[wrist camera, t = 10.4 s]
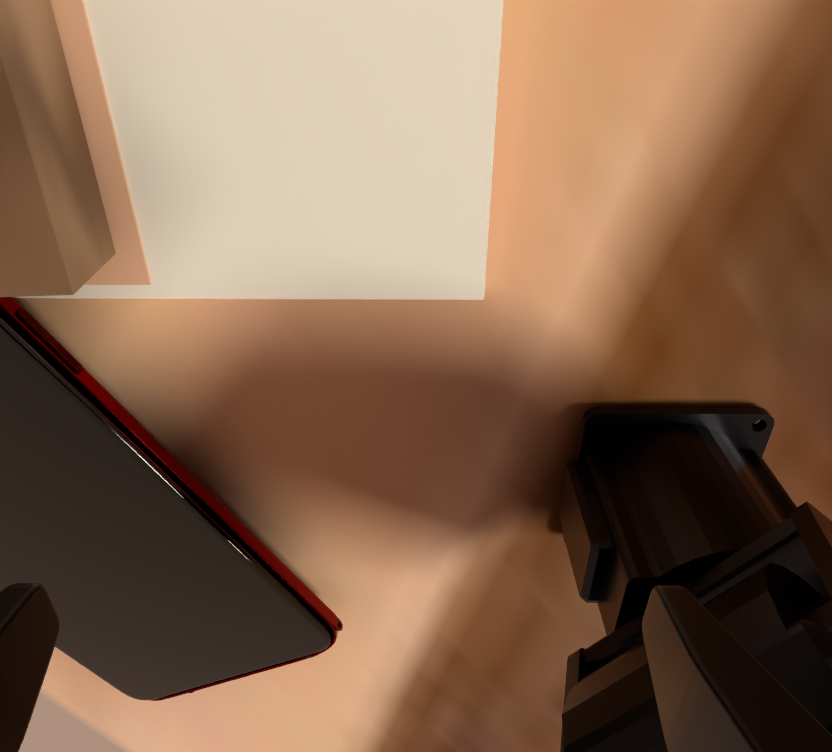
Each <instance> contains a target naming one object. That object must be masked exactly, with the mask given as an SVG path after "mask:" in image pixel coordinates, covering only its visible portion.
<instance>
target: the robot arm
mask: <svg viewBox="0 0 832 752" xmlns="http://www.w3.org/2000/svg"><path fill="white" fill-rule="evenodd" d="M599 419H601V420H603V421H602V422H601V423H599V424H593V422H594V421H596V420H599ZM758 420H760V422H758V423H757V424H754V425H753V423H754V422H756V421H758ZM773 426H774V420H773V417H772V416H771V415H770V414H769V412H768V411H767V410H765V409H764V408H760V407H594V408H591V409H589V410H588V411H587V412H586V413H585V414H584V415H583V418H582V422H581V428H580V434H579V439H578V445H577V451H576V456H575V459H572V460H571V461H570V462H569V463H568V464H567V465H566V469H565V475H564V481H563V487H562V493H561V499H560V505H559V511H558V514H559V518H560V522H561V526H562V531H563V537H564V541H565V543H566V545H567V549H568V553H569V557H570V561H571V565H572V569H573V573H574V576H575V580H576V584H577V588H578V592H579V595H580V597H581V598H582V599H583V600H584V601H585V602H587V603H598V606H599V610H600V613H601V617H602V620H603V624H604V627H605V631H606V634H607V636H605V637H604V638H602V639H601V640H599V641H597V642H596V643H594V644H593V645H591V646H590V647H588V648H587V649H584V648H581V649H579V650H577V651H576V652H574V653H573V654H571V655H570V656H568V660H567V673H566V686H565V699H564V710H563V713H562V737H561V750H560V752H832V521H831V520H829V519H828V518H827V517H826V516H824V515H823V514H822V513H821V512H819V511H818V510H817V509H816V508H815V507H813V506H812V505H811V504H810V503H808V502H805V503H804V504H802V505H801V506H799V507H796V505H795V504H794V502H793V501H792V499H791V498H790V497H789V495H788V494H787V492H786V491H785V490H784V488H783V487H782V485H781V484H780V483H779V481H778V480H777V478H776V477H775V475H774V474H773V473H772V471H771V470H770V468H769V467H768V466H767V464H766V463H765V461H764V460H763V458H762V455H763V453H764V450H765V448H766V445H767V442H768V440H769V437H770V434H771V432H772V429H773ZM59 630H60V619H59V616H58V613H57V611H56V609H55V607H54V605H53V603H52V601H51V598H50V596H49V594H48V592H47V590H46V588H45V587H44V586H43V585H42V584H39V583H15V584H12V585H10V586H8V587H6V588H5V589H3V590H2V591H1V592H0V752H18V751H19V749H20V746H21V744H22V741H23V739H24V736H25V733H26V731H27V728H28V725H29V722H30V720H31V717H32V714H33V711H34V707H35V704H36V701H37V698H38V695H39V692H40V689H41V686H42V683H43V680H44V677H45V674H46V671H47V668H48V665H49V662H50V659H51V656H52V653H53V650H54V647H55V644H56V641H57V638H58V635H59Z"/></svg>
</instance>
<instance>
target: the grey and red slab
mask: <svg viewBox="0 0 832 752" xmlns="http://www.w3.org/2000/svg"><path fill="white" fill-rule="evenodd" d="M15 583H39V584H42V585H43V586H44V587H45V588H46V590H47V592H48V594H49V596H50V598H51V601H52V603H53V605H54V607H55V609H56V611H57V613H58V616H59V619H60V630H59V635H58V638H57V641H56V644H55V647H56V648H58V649H59V650H61V651H62V652H64V653H65V654H67V655H68V656H69V657H71V658H72V659H74V660H75V661H77V662H78V663H80V664H81V665H83V666H84V667H86V668H87V669H88V670H90V671H91V672H93V673H94V674H96V675H97V676H99V677H100V678H102V679H103V680H105V681H106V682H107V683H109V684H110V685H112V686H113V687H115V688H116V689H118V690H119V691H121V692H122V693H124V694H126V695H128V696H130V697H132V698H135V699H139V700H153V701H158V700H164V699H168V698H171V697H175V696H179V695H182V694H186V693H192V692H194V691H196V690H200V689H203V688H207V687H210V686H214V685H217V684H221V683H224V682H228V681H231V680H236V679H239V678H243V677H246V676H249V675H252V674H256V673H259V672H263V671H266V670H270V669H273V668H277V667H280V666H284V665H287V664H291V663H294V662H297V661H301V660H304V659H307V658H311V657H314V656H316V655H318V654H320V653H322V652H324V651H326V650H327V649H329V648H330V647H331V646H332V645H333V644H334V643H335V641H336V638H337V633H338V631H341V630H342V627H343V626H342V622H341V621H340V620H339V619H338V618H337V616H336V615H335V614H334V613H333V612H332V611H331V610H330V609H329V608H328V607H327V606H326V605H325V604H324V603H323V602H322V601H321V600H320V599H319V598H318V597H317V596H316V595H315V594H314V593H313V592H312V591H311V590H310V589H309V588H308V587H307V586H306V585H304V584H303V583H302V582H301V581H300V580H299V579H298V578H297V577H296V576H295V575H294V574H293V573H292V572H291V571H290V570H289V569H288V568H287V567H286V566H285V565H284V564H283V563H282V562H281V561H280V560H279V559H278V558H277V557H276V556H275V555H274V554H273V553H272V552H271V551H270V550H269V549H268V548H267V547H266V546H265V545H264V544H263V543H261V542H260V541H259V540H258V539H257V538H256V537H255V536H254V535H253V534H252V533H251V532H250V531H249V530H248V529H247V528H246V527H245V526H244V525H243V524H242V523H241V522H240V521H239V520H238V519H237V518H236V517H235V516H234V515H233V514H232V513H231V512H230V511H229V510H228V509H227V508H226V507H225V506H224V505H223V504H222V503H221V502H220V501H219V500H217V499H216V498H215V497H214V496H213V495H212V494H211V493H210V492H209V491H208V490H207V489H206V488H205V487H204V486H203V485H202V484H201V483H200V482H199V481H198V480H197V479H196V478H195V477H194V476H193V475H192V474H191V473H190V472H189V471H188V470H187V469H186V468H185V467H184V466H183V465H182V464H181V463H180V462H179V461H178V460H177V459H176V458H175V457H174V456H172V455H171V454H170V453H169V452H168V451H167V450H166V449H165V448H164V447H163V446H162V445H161V444H160V443H159V442H158V441H157V440H156V439H155V438H154V437H153V436H152V435H151V434H150V433H149V432H148V431H147V430H146V429H145V428H144V427H143V426H142V425H141V424H140V423H139V422H138V421H137V420H136V419H135V418H134V417H133V416H132V415H131V414H130V413H129V412H128V411H127V410H126V409H125V408H124V407H123V406H122V405H121V404H120V403H119V402H118V401H117V400H116V399H115V398H114V397H113V396H112V395H111V394H110V393H108V392H107V391H106V390H105V389H104V388H103V387H102V386H101V385H100V384H99V383H98V382H97V381H96V380H95V379H94V378H93V377H92V376H91V375H90V374H89V373H88V372H87V371H86V370H85V369H84V368H83V367H82V365H81V364H80V363H79V362H78V361H77V360H76V359H75V358H74V357H73V356H72V355H71V354H70V353H69V352H68V351H67V350H66V349H65V348H64V347H63V346H62V345H60V344H59V343H58V342H57V341H56V340H55V339H54V338H53V337H52V336H51V335H50V334H49V333H48V332H47V331H46V330H45V329H44V328H43V327H42V326H41V325H40V324H39V323H38V322H37V321H36V320H35V319H34V318H33V317H32V316H31V315H30V314H29V313H28V312H27V311H26V310H25V309H24V308H23V307H22V306H21V305H20V304H19V303H18V302H16V301H15V300H14V299H13V298H12V297H0V592H1V591H2V590H3V589H5V588H6V587H8V586H10V585H12V584H15Z"/></svg>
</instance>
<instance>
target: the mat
mask: <svg viewBox="0 0 832 752" xmlns="http://www.w3.org/2000/svg"><path fill="white" fill-rule="evenodd" d="M50 1H51V5H52V9H53V13H54V16H55V20H56V24H57V28H58V32H59V36H60V40H61V43H62V47H63V51H64V55H65V59H66V63H67V67H68V71H69V74H70V78H71V82H72V86H73V90H74V94H75V98H76V101H77V105H78V109H79V113H80V117H81V121H82V125H83V128H84V132H85V136H86V140H87V144H88V148H89V152H90V155H91V159H92V163H93V167H94V171H95V175H96V179H97V182H98V186H99V190H100V194H101V198H102V202H103V206H104V209H105V213H106V217H107V221H108V225H109V229H110V233H111V237H112V240H113V244H114V248H115V252H116V254H115V255H114V256H113V257H112V258H111V259H110V260H109V261H108V262H106V263H105V264H104V265H103V266H102V267H101V268H100V269H99V270H98V271H97V272H96V273H95V274H94V275H93V276H92V277H91V278H90V279H89V280H88V281H87V282H86V283H85V284H84V285H83V286H82V287H81V288H80V289H79V290H78V291H77V292H76V293H75V294H74V295H53V296H22V297H12V298H64V299H419V300H484V291H485V275H486V260H487V245H488V229H489V214H490V199H491V184H492V168H493V153H494V138H495V122H496V107H497V92H498V76H499V61H500V46H501V30H502V15H503V0H50Z"/></svg>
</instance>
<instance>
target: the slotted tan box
mask: <svg viewBox="0 0 832 752" xmlns="http://www.w3.org/2000/svg"><path fill="white" fill-rule="evenodd" d="M115 254H116V252H115V248H114V244H113V240H112V237H111V233H110V229H109V225H108V221H107V217H106V213H105V209H104V206H103V202H102V198H101V194H100V190H99V186H98V182H97V179H96V175H95V171H94V167H93V163H92V159H91V155H90V152H89V148H88V144H87V140H86V136H85V132H84V128H83V125H82V121H81V117H80V113H79V109H78V105H77V101H76V98H75V94H74V90H73V86H72V82H71V78H70V74H69V71H68V67H67V63H66V59H65V55H64V51H63V47H62V43H61V40H60V36H59V32H58V28H57V24H56V20H55V16H54V13H53V9H52V5H51V1H50V0H0V297H22V296H53V295H74V294H75V293H76V292H77V291H78V290H79V289H80V288H81V287H82V286H83V285H84V284H85V283H86V282H87V281H88V280H89V279H90V278H91V277H92V276H93V275H94V274H95V273H96V272H97V271H98V270H99V269H100V268H101V267H102V266H103V265H104V264H105V263H106V262H108V261H109V260H110V259H111V258H112V257H113V256H114V255H115Z"/></svg>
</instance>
